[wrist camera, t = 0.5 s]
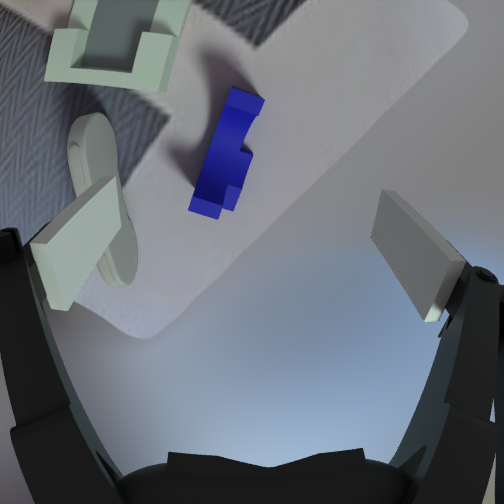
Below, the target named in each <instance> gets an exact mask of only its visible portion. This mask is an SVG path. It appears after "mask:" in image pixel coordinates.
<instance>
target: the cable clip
mask: <svg viewBox="0 0 504 504" xmlns="http://www.w3.org/2000/svg"><path fill="white" fill-rule="evenodd" d="M264 101H265V100H264V99H263V98H262V97H261V96H258V95H255V94H253V93H250V92H247V91H244V90H241V89H239V88H236V87H233V86H232V88H231V90H230V93H229V95H228V98H227V100H226V103H225V106H224V109H223V111H222V114H221V117H220V119H219V122H218V125H217V128H216V130H215V133H214V136H213V139H212V141H211V144H210V147H209V150H208V153H207V155H206V158H205V161H204V164H203V167H202V170H201V173H200V175H199V178H198V181H197V184H196V187H195V190H194V193H193V196H192V199H191V202H190V205H189V209H188V211H192V212H195V213H198V214H201V215H204V216H208V217H211V218H214V219H217V220H218V218H219V216H220V213H221V210H222V208H223V209H226V210H230V211H234V208H235V206H236V203H237V201H238V198H239V195H240V193H241V190H242V187H243V184H244V180H245V177H246V174H247V171H248V168H249V165H250V163H251V160H252V158H253V153H252V152H249V151H247V150H244V149H241V146H242V143H243V141H244V139H245V136H246V134H247V132H248V130H249V128H250V126H251V124H252V122H253V120H254V119H255V117H256V116H259V113H260V111H261V108H262V106H263V104H264Z"/></svg>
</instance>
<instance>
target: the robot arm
mask: <svg viewBox="0 0 504 504" xmlns="http://www.w3.org/2000/svg"><path fill="white" fill-rule="evenodd" d="M120 228H121V220H120V212H119V203H118V194H117V184H116V176H102V177H101V178H99V179H98V180H97V181H96V182H95V183H94V184H92V185H91V186H90V187H89V188H88V189H86V190H85V191H84V192H83V193H82V194H81V195H80V196H78V197H77V198H76V199H75V200H74V201H73V202H72V203H71V204H70V205H68V206H67V207H66V208H65V209H64V210H63V211H62V212H61V213H60V214H59V215H58V216H57V217H56V218H54V219H53V220H52V221H50V222H49V223H47V224H45V225H44V226H43V227H42V228H41V229H40V230H39V232H37V233H36V234H35V235H34V237H32V238H31V239H30V240H29V241H28V242H27V243H26V244H25V245H24V246H22V242H21V239H20V235H19V231H18V230H17V228H13V227H12V228H5V229H2V230H0V353H1V359H2V365H3V370H4V376H5V381H6V385H7V390H8V394H9V398H10V402H11V406H12V410H13V414H14V417H15V421H16V426H15V427H13V428H11V430H10V435H11V440H12V444H13V447H14V450H15V453H16V456H17V459H18V462H19V465H20V468H21V470H22V473H23V476H24V478H25V481H26V483H27V486H28V488H29V491H30V493H31V495H32V498H33V500H34V502H35V504H482V501H483V498H484V495H485V492H486V488H487V485H488V481H489V478H490V474H491V470H492V466H493V462H494V458H495V453H496V471H495V504H504V285H500V284H499V282H498V279H497V278H496V276H495V275H494V274H493V273H491V272H490V271H489V270H487V269H485V268H482V267H478V266H474V267H472V266H471V265H470V264H469V263H468V262H467V261H466V260H465V258H464V257H463V256H462V255H461V254H459V252H458V251H457V250H456V249H454V247H453V246H452V245H451V244H450V243H449V242H448V241H447V240H446V239H445V238H444V237H443V236H442V235H441V234H440V233H439V232H438V231H437V230H436V229H435V228H434V227H433V226H432V225H431V224H430V223H429V222H428V221H427V220H426V219H424V218H423V217H422V216H421V215H420V214H419V213H418V212H417V211H416V210H415V209H414V208H413V207H412V206H411V205H410V204H408V203H407V202H406V201H405V200H404V199H403V198H402V197H401V196H400V195H399V194H397V193H396V192H395V191H390V190H382V191H381V196H380V200H379V204H378V209H377V213H376V217H375V222H374V226H373V229H372V233H371V239H372V241H373V242H374V243H375V245H376V246H377V247H378V249H379V251H380V252H381V254H382V255H383V257H384V258H385V260H386V261H387V263H388V264H389V266H390V267H391V269H392V271H393V272H394V274H395V275H396V277H397V278H398V280H399V281H400V283H401V284H402V286H403V288H404V289H405V291H406V293H407V294H408V296H409V297H410V299H411V301H412V303H413V304H414V306H415V307H416V309H417V311H418V313H419V314H420V316H421V318H422V319H423V321H424V322H429V321H439V319H440V317H441V316H442V313H443V311H444V310H445V308H446V310H447V311H448V313H449V317H448V319H447V320H446V322H445V324H444V326H443V328H442V330H441V332H440V334H439V335H438V337H439V338H440V337H441V340H440V343H439V346H438V350H437V353H436V356H435V359H434V362H433V365H432V368H431V371H430V374H429V376H428V379H427V382H426V385H425V387H424V390H423V393H422V395H421V398H420V400H419V403H418V405H417V407H416V410H415V412H414V415H413V417H412V419H411V422H410V424H409V426H408V428H407V431H406V433H405V435H404V437H403V439H402V441H401V443H400V445H399V447H398V449H397V451H396V453H395V455H394V457H393V458H392V460H391V461H390V462H389V464H386V463H383V462H380V461H375V460H370V459H365V455H364V451H363V448H358V449H352V450H345V451H337V452H327V453H319V454H316V455H312V456H309V457H306V458H303V459H300V460H297V461H294V462H290V463H286V464H283V465H279V466H276V467H262V466H258V465H253V464H248V463H244V462H240V461H235V460H232V459H227V458H224V457H220V456H211V455H197V454H185V453H175V452H168V460H167V463H162V464H157V465H151V466H147V467H144V468H142V469H138V470H136V471H134V472H132V473H130V474H128V475H126V476H123V475H122V473H121V472H120V471H119V469H118V468H117V466H116V465H115V463H114V462H113V461H112V459H111V458H110V456H109V454H108V453H107V451H106V449H105V448H104V446H103V444H102V442H101V441H100V439H99V437H98V435H97V433H96V432H95V430H94V428H93V426H92V424H91V422H90V420H89V418H88V416H87V414H86V412H85V410H84V408H83V406H82V404H81V402H80V400H79V398H78V396H77V393H76V391H75V389H74V387H73V385H72V382H71V380H70V378H69V376H68V373H67V371H66V368H65V366H64V363H63V361H62V358H61V356H60V353H59V351H58V348H57V345H56V342H55V340H54V337H53V334H52V331H51V328H50V325H49V322H48V319H47V316H46V313H45V310H44V307H43V305H42V302H43V300H44V299H45V297H46V296H47V299H48V301H49V304H50V306H51V309H57V310H64V311H68V310H69V308H70V306H71V304H72V303H73V301H74V299H75V298H76V296H77V294H78V293H79V291H80V289H81V288H82V286H83V284H84V283H85V281H86V279H87V278H88V276H89V275H90V273H91V271H92V270H93V268H94V267H95V265H96V264H97V262H98V261H99V259H100V257H101V256H102V254H103V253H104V251H105V250H106V248H107V247H108V245H109V244H110V242H111V241H112V239H113V238H114V237H115V235H116V234H117V232H118V231H119V229H120ZM493 398H494V410H495V423H493V422H491V421H490V415H491V409H492V403H493Z"/></svg>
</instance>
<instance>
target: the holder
mask: <svg viewBox="0 0 504 504" xmlns="http://www.w3.org/2000/svg"><path fill="white" fill-rule="evenodd" d="M191 3H192V0H75V2H74V5H73V8H72V12H71V15H70V19H69V22H68V26H67V29H55V31H54V35H53V39H52V43H51V48H50V53H49V57H48V62H47V68H46V73H45V79H44V81H53V82H70V83H84V84H95V85H104V86H113V87H121V88H129V89H136V90H143V91H149V92H156V93H159V92H164V91H166V88H167V84H168V80H169V76H170V73H171V69H172V65H173V61H174V58H175V54H176V51H177V47H178V44H179V40H180V37H181V34H182V30H183V27H184V24H185V21H186V18H187V15H188V12H189V9H190V6H191Z"/></svg>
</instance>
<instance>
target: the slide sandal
mask: <svg viewBox="0 0 504 504" xmlns="http://www.w3.org/2000/svg"><path fill="white" fill-rule="evenodd" d="M67 157H68V164H69V168H70V173H71V178H72V182H73V186H74V190H75V194H76V198H77V197H78V196H80V195H81V194H82V193H83V192H84V191H85V190H86V189H88V188H89V187H90V186H91V185H92V184H94V183H95V182H96V181H97V180H98V179H99V178H101V177H102V176H116V184H117V194H118V203H119V212H120V220H121V228H120V229H119V231H118V232H117V234H116V235H115V237H114V238H113V239H112V241H111V242H110V244H109V245H108V247H107V248H106V250H105V251H104V253H103V254H102V256H101V257H100V259H99V261H98V262H97V266H98V269H99V272H100V274H101V276H102V278H103V280H104V281H105V282H106V283H107V284H108V285H109V286H112V287H119V286H129V285H130V284H131V283H132V282H133V280H134V278H135V275H136V271H137V264H138V248H137V240H136V235H135V231H134V228H133V225H132V223H131V221H130V220H129V218H128V215H127V210H126V206H125V202H124V197H123V193H122V188H121V183H120V178H119V173H118V167H117V163H118V157H117V145H116V139H115V135H114V131H113V128H112V126H111V124H110V122H109V120H108V119H107V118H106V116H105V115H103V114H102V113H92V114H88V115H84V116H81V117H79V118H77V119H76V120H75V121H74V123H73V125H72V126H71V129H70V132H69V135H68V141H67Z"/></svg>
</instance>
